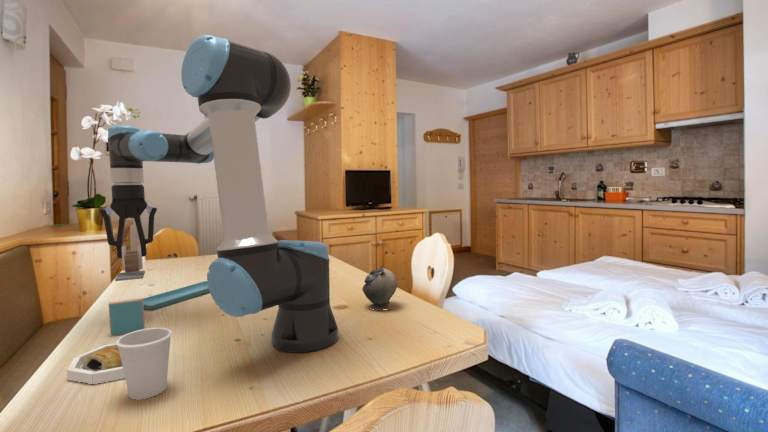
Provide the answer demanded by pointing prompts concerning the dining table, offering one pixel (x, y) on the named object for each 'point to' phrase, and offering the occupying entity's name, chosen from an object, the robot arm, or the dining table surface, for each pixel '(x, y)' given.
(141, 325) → the tile
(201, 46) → the robot arm
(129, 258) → the tall brown block
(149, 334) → the dixie cup
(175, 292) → the teal serving tray
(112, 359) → the pastry
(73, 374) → the dish rim
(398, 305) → the dining table surface
